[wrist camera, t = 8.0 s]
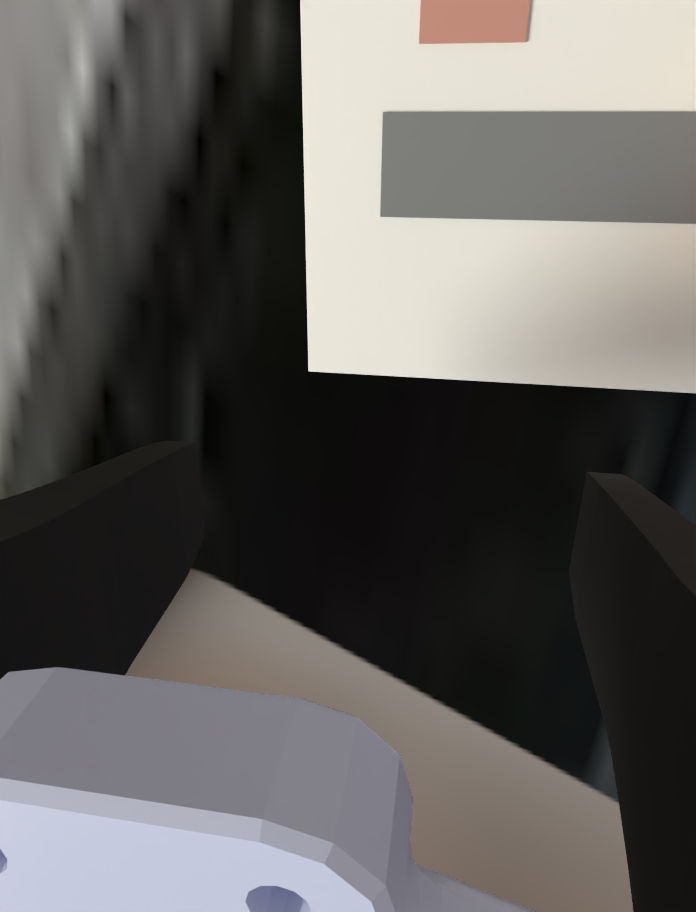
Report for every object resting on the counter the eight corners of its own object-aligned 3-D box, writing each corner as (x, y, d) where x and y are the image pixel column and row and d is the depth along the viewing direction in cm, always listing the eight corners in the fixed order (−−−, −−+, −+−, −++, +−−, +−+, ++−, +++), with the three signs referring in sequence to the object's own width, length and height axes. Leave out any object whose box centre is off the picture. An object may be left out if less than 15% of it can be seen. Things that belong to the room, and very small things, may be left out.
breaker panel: (875, 380, 19) (920, 407, 17) (321, 351, 21) (307, 372, 19) (1058, -115, 14) (1149, -154, 12) (316, -82, 16) (296, -111, 14)
